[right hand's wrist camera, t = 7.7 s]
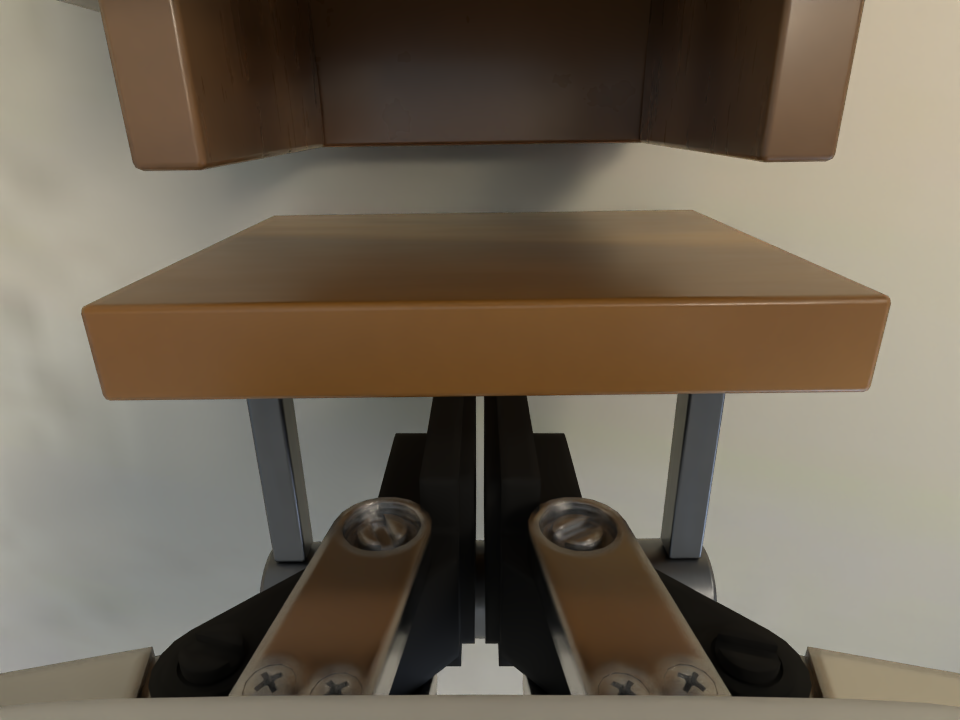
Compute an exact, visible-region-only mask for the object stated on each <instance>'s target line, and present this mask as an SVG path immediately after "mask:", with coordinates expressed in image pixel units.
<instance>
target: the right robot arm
mask: <svg viewBox="0 0 960 720" xmlns="http://www.w3.org/2000/svg"><path fill="white" fill-rule="evenodd" d="M484 558H485V643H498V650H499V666H514V667H516V668H517V669H518V670H519V671H521V672H522V673H523V695H437V673H438V672H440V671H441V670H442V669H443V668H445V667H446V666H461V652H462V644H475V564H476V396H450V397H433V402H432V408H431V414H430V419H429V425H428V431H427V433H396V435H395V437H394V441H393V444H392V448H391V452H390V456H389V459H388V463H387V467H386V470H385V474H384V478H383V481H382V485H381V489H380V493H379V496H378V498H375V499H369V500H365V501H363V502H360V503H357V504H355V505H353V506H351V507H350V508H348V509H347V510H345V511H343V512H342V513H341V514H340V515H339V517H338V518H337V519H336V520H335V521H334V523H333V524H332V526H331V528H330V529H329V531H328V533H327V534H326V536H325V538H324V539H323V541H322V543H321V544H320V546H319V547H318V549H317V551H316V552H315V554H314V556H313V557H312V559H311V561H310V562H309V564H308V566H307V567H306V568H305V569H303V570H301V571H300V572H298V573H296V574H294V575H292V576H290V577H288V578H287V579H285V580H283V581H281V582H279V583H277V584H276V585H274V586H272V587H270V588H268V589H266V590H264V591H263V592H261V593H259V594H257V595H255V596H253V597H251V598H250V599H248V600H246V601H244V602H242V603H240V604H239V605H237V606H235V607H233V608H231V609H229V610H227V611H226V612H224V613H222V614H220V615H218V616H216V617H215V618H213V619H211V620H209V621H207V622H205V623H203V624H202V625H200V626H198V627H196V628H194V629H192V630H191V631H189V632H188V633H186V634H185V635H183V636H182V637H180V638H179V639H177V640H176V641H174V642H173V643H172V644H171V645H170V646H169V647H168V648H167V649H166V650H165V651H164V652H163V653H162V654H161V655H159V656H155V655H154V651H153V647H147V648H142V649H136V650H130V651H125V652H119V653H113V654H108V655H102V656H97V657H91V658H85V659H80V660H74V661H68V662H63V663H57V664H52V665H46V666H40V667H35V668H29V669H23V670H18V671H12V672H7V673H1V674H0V720H960V674H959V673H953V672H948V671H942V670H937V669H931V668H925V667H920V666H914V665H908V664H903V663H897V662H892V661H886V660H880V659H875V658H869V657H863V656H858V655H852V654H847V653H841V652H835V651H830V650H824V649H819V648H813V647H807V651H806V655H805V656H801V655H799V654H798V653H797V652H796V651H795V650H794V649H793V648H792V647H791V646H790V645H789V644H788V643H787V642H786V641H784V640H783V639H781V638H780V637H778V636H777V635H775V634H774V633H772V632H771V631H769V630H768V629H766V628H764V627H762V626H760V625H758V624H757V623H755V622H753V621H751V620H749V619H747V618H746V617H744V616H742V615H740V614H738V613H736V612H734V611H733V610H731V609H729V608H727V607H725V606H723V605H722V604H720V603H718V602H716V601H714V600H712V599H710V598H709V597H707V596H705V595H703V594H701V593H699V592H697V591H696V590H694V589H692V588H690V587H688V586H686V585H685V584H683V583H681V582H679V581H677V580H675V579H673V578H672V577H670V576H668V575H666V574H664V573H662V572H661V571H659V570H657V569H655V568H654V567H653V566H652V564H651V562H650V561H649V559H648V557H647V556H646V554H645V552H644V551H643V549H642V547H641V546H640V544H639V543H638V541H637V539H636V538H635V536H634V534H633V533H632V531H631V529H630V528H629V526H628V524H627V523H626V521H625V520H624V519H623V518H622V517H621V515H620V514H619V513H618V512H617V511H615V510H613V509H612V508H610V507H609V506H607V505H605V504H603V503H600V502H597V501H595V500H591V499H585V498H582V496H581V492H580V489H579V485H578V481H577V477H576V474H575V470H574V466H573V463H572V459H571V455H570V452H569V448H568V444H567V441H566V437H565V434H564V433H533V431H532V425H531V419H530V413H529V407H528V401H527V396H484Z"/></svg>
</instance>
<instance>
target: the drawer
mask: <svg viewBox="0 0 960 720" xmlns="http://www.w3.org/2000/svg"><path fill="white" fill-rule="evenodd" d="M864 1H865V0H98V3H99V7H100V12H101V16H102V21H103V26H104V30H105V35H106V40H107V44H108V49H109V54H110V58H111V63H112V68H113V72H114V77H115V82H116V86H117V91H118V95H119V100H120V105H121V109H122V114H123V119H124V123H125V128H126V133H127V137H128V142H129V147H130V151H131V156H132V160H133V164H134V165H135V167H136V168H138V169H140V170H143V171H172V170H204V169H209V168H215V167H220V166H225V165H230V164H236V163H241V162H246V161H252V160H257V159H262V158H267V157H273V156H278V155H283V154H288V153H294V152H299V151H304V150H310V149H315V148H320V147H366V146H435V145H504V144H574V143H648V144H654V145H660V146H667V147H673V148H679V149H685V150H692V151H698V152H704V153H711V154H717V155H723V156H729V157H736V158H742V159H748V160H755V161H761V162H814V161H828V160H830V159H832V158H833V157H834V155H835V152H836V146H837V141H838V136H839V131H840V126H841V120H842V115H843V110H844V105H845V100H846V95H847V89H848V84H849V79H850V74H851V69H852V63H853V58H854V53H855V48H856V43H857V38H858V32H859V27H860V22H861V17H862V12H863V6H864ZM890 305H891V302H890V298H889V297H888V296H886V295H884V294H882V293H880V292H877V291H875V290H873V289H871V288H868V287H866V286H864V285H861V284H859V283H857V282H855V281H852V280H850V279H848V278H846V277H843V276H841V275H839V274H837V273H834V272H832V271H830V270H827V269H825V268H823V267H821V266H818V265H816V264H814V263H812V262H809V261H807V260H805V259H802V258H800V257H798V256H796V255H793V254H791V253H789V252H787V251H784V250H782V249H780V248H777V247H775V246H773V245H771V244H768V243H766V242H764V241H762V240H759V239H757V238H755V237H752V236H750V235H748V234H746V233H743V232H741V231H739V230H737V229H734V228H732V227H730V226H728V225H725V224H723V223H721V222H718V221H716V220H714V219H712V218H709V217H707V216H705V215H703V214H700V213H698V212H696V211H693V210H654V211H581V212H508V213H435V214H361V215H288V216H272V217H270V218H268V219H266V220H264V221H262V222H260V223H258V224H256V225H254V226H251V227H249V228H247V229H245V230H243V231H241V232H239V233H237V234H235V235H233V236H230V237H228V238H226V239H224V240H222V241H220V242H218V243H216V244H214V245H212V246H209V247H207V248H205V249H203V250H201V251H199V252H197V253H195V254H193V255H191V256H189V257H186V258H184V259H182V260H180V261H178V262H176V263H174V264H172V265H170V266H168V267H165V268H163V269H161V270H159V271H157V272H155V273H153V274H151V275H149V276H147V277H144V278H142V279H140V280H138V281H136V282H134V283H132V284H130V285H128V286H126V287H123V288H121V289H119V290H117V291H115V292H113V293H111V294H109V295H107V296H105V297H102V298H100V299H98V300H96V301H94V302H92V303H90V304H88V305H86V306H84V307H83V308H82V313H81V315H82V318H83V322H84V326H85V329H86V333H87V337H88V341H89V344H90V348H91V352H92V355H93V359H94V363H95V367H96V370H97V374H98V378H99V381H100V385H101V389H102V393H103V396H104V397H105V398H106V399H107V400H192V399H247V404H248V410H249V416H250V422H251V427H252V433H253V439H254V445H255V451H256V456H257V462H258V468H259V474H260V480H261V485H262V491H263V497H264V503H265V508H266V514H267V520H268V526H269V532H270V537H271V543H272V551H271V552H270V554H269V557H268V559H267V562H266V565H265V568H264V572H263V576H262V581H261V588H260V593H261V592H263V591H264V590H266V589H268V588H270V587H272V586H274V585H276V584H277V583H279V582H281V581H283V580H285V579H287V578H288V577H290V576H292V575H294V574H296V573H298V572H300V571H301V570H303V569H305V568H306V567H307V566H308V564H309V562H310V561H311V559H312V557H313V556H314V554H315V552H316V551H317V549H318V547H319V546H320V544H321V543H322V542H313V537H312V530H311V523H310V516H309V509H308V502H307V495H306V488H305V481H304V474H303V467H302V460H301V453H300V446H299V439H298V432H297V424H296V417H295V410H294V403H293V398H364V397H450V396H536V395H622V394H678V395H677V404H676V412H675V421H674V429H673V438H672V446H671V455H670V463H669V472H668V480H667V488H666V497H665V505H664V514H663V522H662V531H661V538H659V539H637V541H638V543H639V544H640V546H641V547H642V549H643V551H644V552H645V554H646V556H647V557H648V559H649V561H650V562H651V564H652V566H653V567H654V568H655V569H657V570H659V571H661V572H662V573H664V574H666V575H668V576H670V577H672V578H673V579H675V580H677V581H679V582H681V583H683V584H685V585H686V586H688V587H690V588H692V589H694V590H696V591H697V592H699V593H701V594H703V595H705V596H707V597H709V598H710V599H712V600H714V601H716V602H717V595H716V585H715V579H714V574H713V570H712V566H711V563H710V560H709V558H708V555H707V553H706V551H705V549H704V547H703V539H704V532H705V525H706V519H707V512H708V505H709V499H710V492H711V485H712V479H713V472H714V465H715V459H716V452H717V445H718V439H719V432H720V425H721V419H722V412H723V405H724V399H725V393H794V392H864V391H867V390H868V389H869V388H870V386H871V382H872V378H873V374H874V370H875V366H876V361H877V357H878V353H879V349H880V345H881V341H882V337H883V333H884V329H885V325H886V321H887V317H888V313H889V309H890ZM475 638H485V558H484V540H476V564H475Z"/></svg>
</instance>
